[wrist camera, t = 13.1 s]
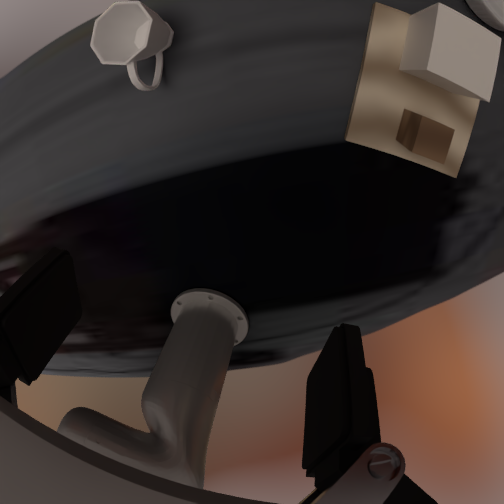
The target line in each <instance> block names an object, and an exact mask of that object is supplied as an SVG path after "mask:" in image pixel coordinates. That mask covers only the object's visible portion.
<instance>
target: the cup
mask: <svg viewBox="0 0 504 504" xmlns="http://www.w3.org/2000/svg"><path fill="white" fill-rule="evenodd" d="M173 34H174V31H173V30H172V28H171V27H170V26H169V24H168V23H167V22H164V21H163V20H162V18H161V17H160V16H159V15H158V14H157V13H156V12H154V11H153V10H151V9H150V8H148V7H147V6H146V5H144V4H143V3H141V2H140V1H125V2H114V3H113V4H112V5H111V6H110V7H109V8H108V9H107V10H106V11H105V12H104V13H103V14H102V15H101V16H100V17H99V18H98V19H97V20H96V21H95V24H94V29H93V34H92V39H91V45H90V46H91V48H92V49H93V51H94V52H95V54H96V55H97V57H98V58H99V60H100V61H101V63H102V64H117V65H127V70H128V74H129V77H130V80H131V82H132V83H133V84H134V85H135V87H136V88H137V89H140V90H143V91H150V90H153V89H156V88H157V87H158V86H159V84H160V81H161V76H162V70H163V53H162V52H163V51H164V50H166V49H167V48H168V47H169V46H171V43H172V39H173ZM153 55H156V69H155V75H154V80H153V83H152V86H148V85H145V84H144V83H143V82H142V81H141V80H140V78H139V76H138V73H137V61H140V60H143V59H147V58H149V57H151V56H153Z"/></svg>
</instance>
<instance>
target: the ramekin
mask: <svg viewBox="0 0 504 504" xmlns="http://www.w3.org/2000/svg"><path fill="white" fill-rule="evenodd" d="M465 1H466V2H467V4H468V5H469V7H470V8H471V9H472V10H473V12H474V13H475V14H476V15H477V16H478V17H479V18H480V19H481V20H482V21H483V22H485V23H486V24H488V25H489V26H491V27H493V28H495V29H497V30H500V31H504V0H465Z"/></svg>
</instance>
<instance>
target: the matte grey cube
mask: <svg viewBox="0 0 504 504" xmlns="http://www.w3.org/2000/svg"><path fill="white" fill-rule="evenodd" d="M500 45H501V38H500V37H498V36H497V35H495V34H494V33H492V32H491V31H489V30H488V29H486V28H484V27H483V26H481V25H480V24H478V23H476V22H475V21H473V20H471V19H469V18H468V17H466V16H464V15H462V14H460V13H459V12H457V11H455V10H453V9H451V8H449V7H447V6H445V5H443V4H441V3H436V4H434V5H432V6H430V7H428V8H425V9H423V10H421V11H419V12H417V13H415V14H413V15H411V16H410V17H409V23H408V29H407V34H406V39H405V44H404V49H403V54H402V58H401V63H400V67H399V70H401V71H403V72H406V73H408V74H411V75H413V76H416V77H418V78H420V79H423V80H425V81H427V82H430V83H432V84H434V85H436V86H438V87H441V88H443V89H445V90H447V91H449V92H451V93H454V94H459V95H463V96H467V97H472V98H476V99H480V100H483V101H487V102H489V101H490V97H491V93H492V89H493V84H494V79H495V74H496V69H497V64H498V58H499V52H500Z"/></svg>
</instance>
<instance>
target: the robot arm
mask: <svg viewBox="0 0 504 504" xmlns="http://www.w3.org/2000/svg"><path fill="white" fill-rule="evenodd" d="M81 316H82V307H81V302H80V297H79V293H78V287H77V282H76V277H75V271H74V265H73V259H72V257H71V256H70V253H69V252H68V251H67V250H64V249H61V248H58V247H54V248H52V249H51V250H50V251H49V252H48V253H46V254H45V255H44V256H43V257H42V258H41V259H40V260H39V261H37V262H36V263H35V264H34V265H33V266H32V267H31V268H30V269H29V270H28V271H27V272H25V273H24V274H23V275H22V276H21V277H20V278H19V279H18V280H17V281H16V282H15V283H14V284H13V285H12V286H11V287H10V288H9V289H8V290H7V291H6V292H5V293H4V294H3V295H2V296H1V297H0V504H277V503H270V502H263V501H257V500H250V499H245V498H239V497H235V496H230V495H225V494H221V493H216V492H212V491H207V490H203V486H204V474H205V463H206V453H207V446H208V442H209V437H210V433H211V429H212V425H213V421H214V417H215V413H216V409H217V406H218V402H219V398H220V394H221V391H222V387H223V384H224V380H225V376H226V372H227V369H228V365H229V361H230V357H231V354H232V350H233V346H235V345H237V344H239V343H240V342H241V341H243V340H244V338H245V337H246V335H247V332H248V328H249V320H248V317H247V314H246V312H245V311H244V309H243V308H242V307H241V306H240V304H239V303H237V302H236V301H235V300H234V299H232V298H231V297H229V296H227V295H226V294H223V293H221V292H219V291H215V290H212V289H205V288H195V289H190V290H187V291H184V292H182V293H181V294H180V295H178V296H177V298H176V299H175V300H174V303H173V304H172V308H171V317H172V320H173V322H174V326H173V328H172V330H171V332H170V334H169V336H168V338H167V340H166V343H165V345H164V347H163V349H162V351H161V353H160V356H159V358H158V360H157V362H156V364H155V367H154V369H153V371H152V373H151V375H150V378H149V380H148V382H147V384H146V387H145V389H144V391H143V394H142V400H141V407H142V412H143V415H144V418H145V421H146V423H147V426H148V428H149V430H150V433H146V432H143V431H141V430H137V429H134V428H132V427H130V426H128V425H125V424H123V423H121V422H118V421H116V420H114V419H112V418H110V417H108V416H106V415H103V414H101V413H99V412H97V411H94V410H92V409H88V408H85V407H77V408H73V409H71V410H70V411H69V412H68V413H67V414H66V415H65V416H64V417H63V419H62V421H61V423H60V425H59V427H58V430H57V432H56V431H54V430H52V429H51V428H49V427H47V426H45V425H44V424H42V423H40V422H39V421H37V420H35V419H34V418H32V417H31V416H29V415H28V414H26V413H24V412H23V411H21V410H20V409H18V406H17V398H16V387H15V381H16V379H17V378H19V380H20V381H22V382H24V383H25V384H27V385H28V386H30V384H31V383H32V381H35V380H37V378H38V377H39V375H40V374H41V373H42V371H43V370H44V368H45V367H46V365H47V364H48V362H49V361H50V359H51V358H52V357H53V355H54V354H55V352H56V351H57V350H58V348H59V347H60V345H61V344H62V343H63V341H64V340H65V338H66V337H67V336H68V334H69V333H70V332H71V330H72V329H73V328H74V326H75V325H76V324H77V322H78V321H79V320H80V318H81ZM305 410H306V411H305V428H304V443H303V444H304V445H303V458H302V468H303V469H307V471H306V477H315V487H316V488H315V489H314V490H313V491H312V492H311V493H310V494H309V495H308V496H307V497H305V498H304V499H303V500H302V501H301V502H300V503H299V504H438V503H437V502H436V501H435V500H434V499H433V498H431V497H430V496H429V495H428V494H427V493H425V492H424V491H423V490H422V489H421V488H420V487H419V486H418V485H417V484H415V483H414V482H413V481H412V480H411V479H410V478H409V477H408V476H406V475H405V474H404V472H405V459H404V457H403V455H402V453H401V452H400V450H399V449H398V448H396V447H395V446H393V445H391V444H388V443H381V436H380V426H379V417H378V409H377V400H376V392H375V385H374V378H373V373H372V370H371V369H370V368H367V367H366V366H365V358H364V351H363V345H362V338H361V332H360V328H359V327H358V326H354V325H349V324H344V323H342V324H341V325H340V327H336V326H335V327H334V329H333V331H332V333H331V334H330V336H329V338H328V340H327V342H326V344H325V346H324V348H323V350H322V352H321V353H320V355H319V357H318V359H317V361H316V363H315V364H314V366H313V368H312V370H311V372H310V374H309V376H308V379H307V387H306V409H305Z"/></svg>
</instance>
